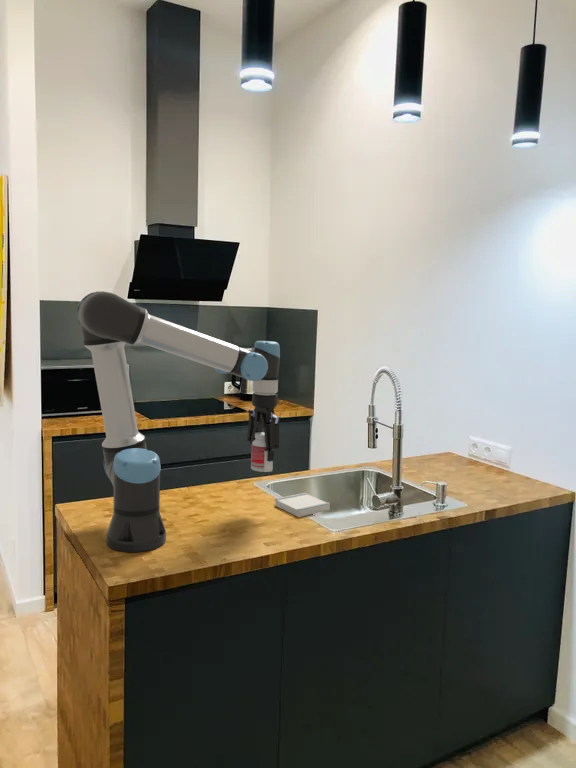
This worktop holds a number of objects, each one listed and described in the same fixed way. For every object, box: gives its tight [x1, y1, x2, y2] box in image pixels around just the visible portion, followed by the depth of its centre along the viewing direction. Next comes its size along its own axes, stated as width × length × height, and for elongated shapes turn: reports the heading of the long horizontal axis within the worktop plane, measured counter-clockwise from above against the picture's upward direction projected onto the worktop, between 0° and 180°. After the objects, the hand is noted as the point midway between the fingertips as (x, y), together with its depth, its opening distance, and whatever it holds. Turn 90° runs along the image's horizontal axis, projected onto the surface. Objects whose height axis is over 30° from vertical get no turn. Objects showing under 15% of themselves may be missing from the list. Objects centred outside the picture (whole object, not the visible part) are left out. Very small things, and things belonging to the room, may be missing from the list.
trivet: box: [274, 492, 331, 518], centre depth 197 cm, size 12×12×2 cm
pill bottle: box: [250, 431, 266, 473], centre depth 191 cm, size 6×6×11 cm
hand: (261, 468), depth 192 cm, fingers closed on pill bottle, 6 cm apart
